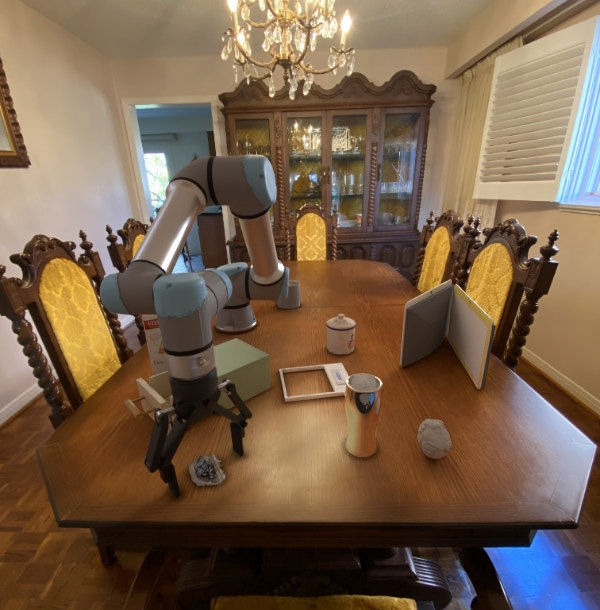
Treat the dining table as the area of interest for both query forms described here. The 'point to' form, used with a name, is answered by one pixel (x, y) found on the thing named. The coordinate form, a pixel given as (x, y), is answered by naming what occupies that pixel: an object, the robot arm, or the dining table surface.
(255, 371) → the cabinet
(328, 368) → the photo frame
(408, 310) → the grey folded panels
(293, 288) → the coffee mug
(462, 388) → the dining table surface
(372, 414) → the beer glass
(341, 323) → the teacup with lid
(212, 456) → the blueberries
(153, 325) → the cracker box
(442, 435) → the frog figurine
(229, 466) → the dining table surface
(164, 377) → the drawer
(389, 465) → the dining table surface
